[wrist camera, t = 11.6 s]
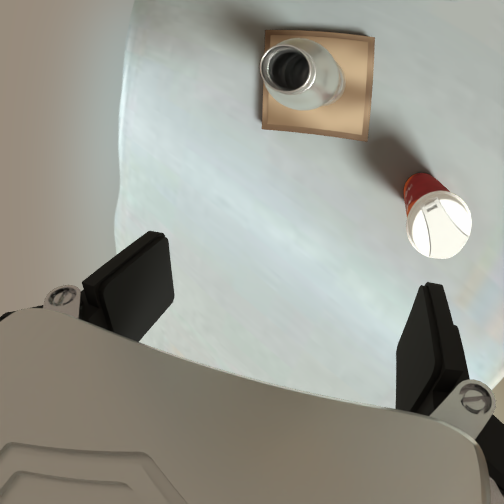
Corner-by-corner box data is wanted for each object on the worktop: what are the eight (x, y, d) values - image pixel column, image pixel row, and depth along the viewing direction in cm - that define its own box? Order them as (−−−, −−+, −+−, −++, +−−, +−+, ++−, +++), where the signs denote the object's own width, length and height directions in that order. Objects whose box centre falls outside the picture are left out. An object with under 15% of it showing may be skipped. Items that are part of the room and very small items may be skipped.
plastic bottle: (319, 46, 34) (281, 6, 17) (357, 84, 35) (354, 72, 18) (284, 79, 37) (220, 69, 21) (321, 116, 38) (286, 133, 21)
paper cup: (386, 180, 42) (395, 215, 30) (431, 155, 38) (458, 181, 26) (411, 226, 44) (424, 275, 32) (454, 203, 40) (483, 245, 28)
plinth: (271, 33, 37) (264, 29, 35) (373, 41, 34) (374, 37, 31) (267, 126, 44) (261, 129, 41) (366, 138, 40) (367, 142, 38)
